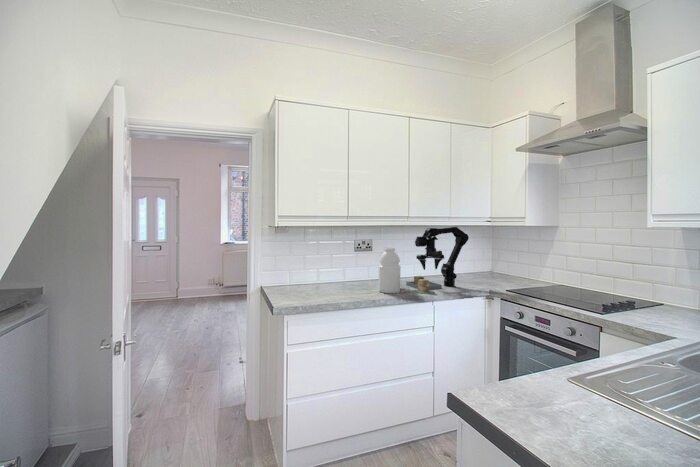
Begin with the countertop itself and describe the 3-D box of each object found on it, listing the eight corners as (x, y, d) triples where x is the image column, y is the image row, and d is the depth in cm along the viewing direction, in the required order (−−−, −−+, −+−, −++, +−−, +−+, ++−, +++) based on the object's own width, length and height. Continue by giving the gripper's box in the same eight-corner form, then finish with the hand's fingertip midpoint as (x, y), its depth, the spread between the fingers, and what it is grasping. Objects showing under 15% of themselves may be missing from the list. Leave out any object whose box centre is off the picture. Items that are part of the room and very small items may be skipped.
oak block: (424, 290, 215) (424, 278, 215) (428, 291, 210) (429, 280, 210) (417, 290, 213) (417, 279, 213) (421, 292, 209) (422, 280, 208)
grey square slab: (426, 284, 240) (426, 280, 240) (441, 289, 223) (441, 284, 223) (406, 286, 234) (406, 281, 234) (420, 290, 217) (420, 286, 217)
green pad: (425, 290, 218) (425, 289, 218) (434, 293, 209) (434, 291, 209) (412, 291, 215) (412, 290, 215) (420, 294, 205) (420, 293, 205)
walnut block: (420, 284, 237) (420, 276, 237) (424, 285, 232) (424, 277, 232) (414, 285, 235) (414, 276, 235) (417, 286, 231) (418, 277, 230)
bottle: (404, 291, 214) (405, 248, 213) (389, 294, 205) (389, 248, 205) (389, 288, 225) (389, 246, 224) (373, 291, 216) (374, 247, 216)
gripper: (425, 247, 217) (425, 271, 217) (449, 246, 223) (449, 270, 224) (416, 246, 227) (415, 269, 227) (439, 245, 234) (439, 268, 234)
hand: (430, 269), depth 228 cm, fingers open, 9 cm apart
